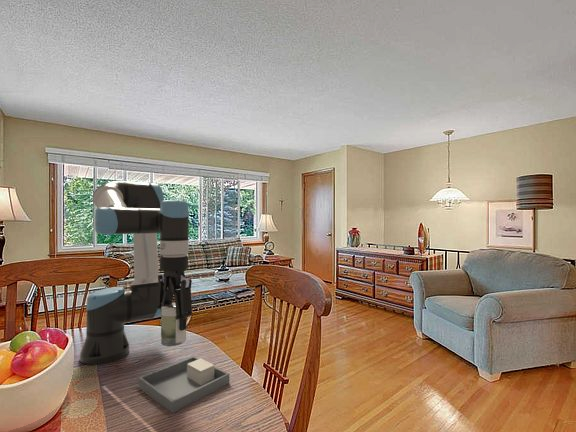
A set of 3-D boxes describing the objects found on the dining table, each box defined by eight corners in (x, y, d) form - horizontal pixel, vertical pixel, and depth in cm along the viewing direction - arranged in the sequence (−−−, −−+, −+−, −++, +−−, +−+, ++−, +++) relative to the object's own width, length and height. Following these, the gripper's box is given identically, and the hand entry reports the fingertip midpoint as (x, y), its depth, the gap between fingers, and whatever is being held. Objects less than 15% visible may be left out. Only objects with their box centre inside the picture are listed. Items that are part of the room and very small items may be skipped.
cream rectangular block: (186, 377, 93) (187, 363, 93) (200, 371, 97) (200, 358, 97) (200, 385, 88) (200, 371, 88) (214, 378, 92) (214, 365, 92)
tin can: (177, 335, 90) (178, 301, 90) (190, 340, 86) (190, 305, 86) (156, 342, 85) (156, 306, 85) (168, 348, 81) (169, 310, 81)
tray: (138, 390, 87) (138, 377, 87) (193, 366, 101) (193, 356, 101) (172, 416, 76) (172, 402, 76) (229, 385, 90) (229, 373, 90)
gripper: (144, 254, 89) (143, 333, 89) (181, 259, 77) (180, 352, 77) (168, 252, 95) (168, 326, 95) (206, 257, 83) (206, 342, 82)
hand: (173, 338), depth 86 cm, fingers closed on tin can, 6 cm apart
